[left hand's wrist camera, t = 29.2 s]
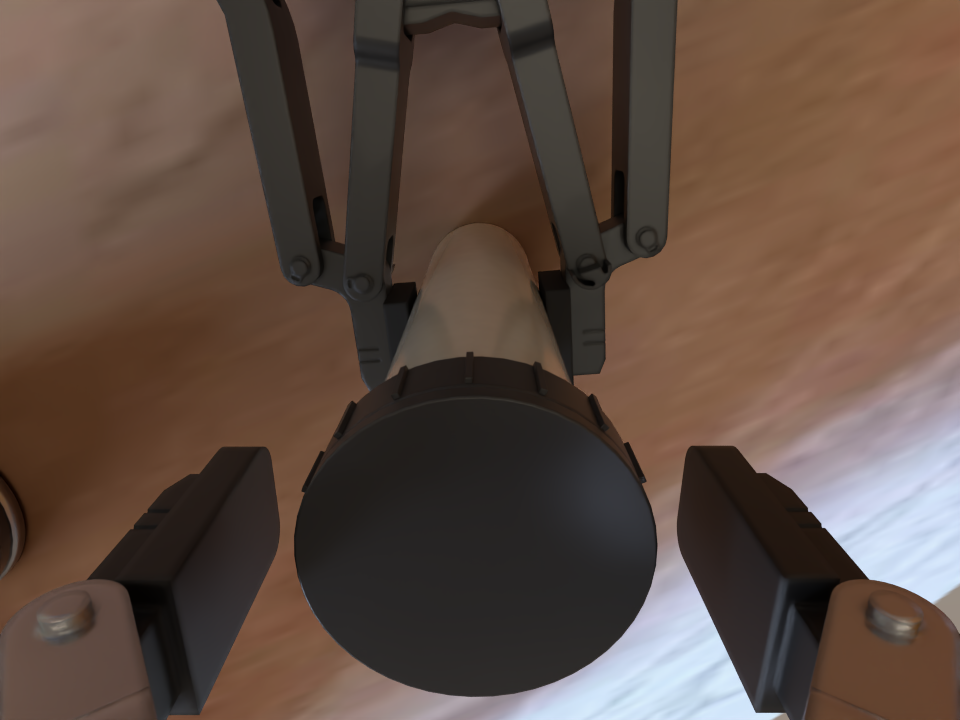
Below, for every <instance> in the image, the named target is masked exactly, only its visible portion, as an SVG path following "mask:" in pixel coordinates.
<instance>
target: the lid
mask: <svg viewBox="0 0 960 720" xmlns="http://www.w3.org/2000/svg"><path fill="white" fill-rule="evenodd" d="M645 482H646V479H645V476H644V474H643V472H642V470H641V468H640V465H639V463H638V461H637V459H636V457H635V455H634V453H633V451H632V448H631V446H630V444H629V442H627V443H624V444H623V441H622V439H621V437H620V435H619V434H618V432H617V431H616V429H615V427H614V426H613V424H612V422H611V421H610V420H609V418H608V417H607V416H606V415H605V414H604V412H603V411H602V409H601V407H600V404H599V402H598V400H597V397H596V396H595V395H593V394H591V395H590V396H589V397H588V396H587V395H586V394H584V393H583V392H582V391H581V390H579V389H578V388H576V387H575V386H573V385H572V384H570V383H569V382H568V381H566V380H564V379H562V378H560V377H558V376H556V375H554V374H552V373H550V372H548V371H546V370H544V369H542V365H541V363H539V362H536V361H535V362H534V364H533V366H532V365H530V364H527V363H523V362H518V361H514V360H509V359H505V358H495V357H484V356H474V352H466V357H455V358H449V359H443V360H436V361H433V362H429V363H426V364H423V365H419V366H416V367H413V368H411V369H409V370H408V368H407V366H406V365H405V366H403V367H400V369H399V372H398V374H397V375H395V376H393V377H392V378H390V379H388V380H387V381H385V382H383V383H382V384H380V385H378V386H377V387H375V388H374V389H373V390H372V391H370V392H369V393H368V394H367V395H365V396H364V397H363V398H362V399H361V400H360V401H359V402H358V403H357V404H356V403H354V402H353V401H351V402H350V403H349V405H348V406H347V408H346V410H345V412H344V415H343V417H342V419H341V421H340V423H339V425H338V427H337V429H336V431H335V433H334V435H333V437H332V439H331V441H330V443H329V445H328V447H327V449H326V451H325V452H323V451H320V453H319V455H318V457H317V459H316V461H315V463H314V465H313V467H312V469H311V471H310V473H309V475H308V477H307V479H306V481H305V483H304V485H303V488H302V492H305V494H304V496H303V499H302V503H301V506H300V509H299V512H298V515H297V521H296V527H295V534H294V556H295V562H296V568H297V574H298V578H299V581H300V584H301V587H302V590H303V593H304V596H305V598H306V600H307V602H308V604H309V606H310V608H311V610H312V612H313V613H314V615H315V616H316V618H317V619H318V621H319V622H320V624H321V625H322V626H323V628H324V629H325V630H326V631H327V633H328V634H329V635H330V636H331V637H332V638H333V639H334V640H335V641H336V642H337V644H339V645H340V646H341V647H342V648H343V649H344V650H346V651H347V652H348V653H349V654H350V655H351V656H352V657H354V658H355V659H357V660H358V661H360V662H361V663H363V664H364V665H366V666H367V667H369V668H370V669H372V670H374V671H376V672H378V673H380V674H382V675H383V676H385V677H387V678H389V679H392V680H395V681H397V682H400V683H402V684H405V685H407V686H410V687H414V688H418V689H421V690H425V691H428V692H434V693H440V694H445V695H453V696H466V697H485V696H499V695H507V694H515V693H519V692H523V691H528V690H532V689H536V688H539V687H542V686H545V685H548V684H551V683H554V682H556V681H558V680H561V679H563V678H565V677H567V676H569V675H571V674H574V673H575V672H577V671H579V670H580V669H582V668H584V667H585V666H587V665H589V664H590V663H592V662H593V661H594V660H596V659H597V658H598V657H600V656H601V655H602V654H603V653H605V652H606V651H607V650H608V649H609V648H610V647H611V646H612V645H613V644H614V643H615V642H616V641H618V640H619V639H620V638H621V637H622V635H623V634H624V633H625V631H626V630H627V629H628V628H629V626H630V625H631V624H632V623H633V621H634V620H635V618H636V616H637V615H638V613H639V611H640V609H641V608H642V606H643V604H644V602H645V600H646V597H647V595H648V592H649V590H650V587H651V584H652V580H653V576H654V571H655V567H656V558H657V534H656V525H655V520H654V516H653V512H652V508H651V505H650V503H649V500H648V498H647V495H646V493H645V491H644V488H643V486H642V483H645Z"/></svg>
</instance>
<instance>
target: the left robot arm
mask: <svg viewBox="0 0 960 720" xmlns="http://www.w3.org/2000/svg"><path fill="white" fill-rule="evenodd" d="M279 535H280V520H279V512H278V505H277V497H276V490H275V482H274V475H273V468H272V460H271V456H270V453H269V450H268V449H267V448H266V447H222V448H220V449H219V450H218V452H217V453H216V454H215V455H214V457H213V458H212V459H211V460H210V462H209V463H208V464H207V465H206V466H205V468H204V469H203V470H202V471H201V473H200V474H190V475H188V476H186V477H185V478H183V479H182V480H180V481H178V482H177V483H175V484H174V485H172V486H170V487H169V488H167V489H166V490H164V491H163V492H162V494H161V495H160V496H159V497H158V498H157V499H156V500H155V502H154V503H153V504H152V505H151V506H150V507H149V509H148V513H144V514H143V515H142V517H141V518H140V519H139V520H138V521H137V522H136V524H135V525H134V529H130V530H129V532H128V533H127V534H126V535H125V536H124V537H123V539H122V540H121V541H120V542H119V543H118V544H117V545H116V547H115V548H114V549H113V550H112V551H111V552H110V554H109V555H108V556H107V557H106V558H105V559H104V560H103V562H102V563H101V564H100V565H99V566H98V567H97V569H96V570H95V571H94V572H93V573H92V574H91V575H90V577H89V578H88V579H87V580H85V581H80V582H75V583H71V584H68V585H64V586H62V587H59V588H56V589H54V590H52V591H49V592H47V593H45V594H43V595H41V596H40V597H38V598H36V599H34V600H33V601H31V602H30V603H28V604H27V605H25V606H24V607H23V608H21V609H20V610H19V611H18V612H17V613H16V614H15V615H14V616H13V617H12V618H11V619H10V620H9V621H8V623H7V624H6V625H5V627H4V628H3V631H2V633H1V634H0V720H166V719H167V717H168V715H200V713H201V710H202V708H203V706H204V704H205V702H206V700H207V698H208V696H209V694H210V692H211V689H212V687H213V685H214V683H215V681H216V679H217V677H218V675H219V673H220V671H221V668H222V666H223V664H224V662H225V660H226V658H227V656H228V654H229V652H230V650H231V647H232V645H233V643H234V641H235V639H236V637H237V635H238V633H239V631H240V629H241V626H242V624H243V622H244V620H245V618H246V616H247V614H248V612H249V610H250V608H251V606H252V603H253V601H254V599H255V597H256V595H257V593H258V591H259V589H260V587H261V585H262V582H263V580H264V578H265V576H266V574H267V572H268V570H269V568H270V566H271V564H272V561H273V559H274V557H275V555H276V552H277V548H278V543H279ZM677 536H678V543H679V548H680V551H681V554H682V557H683V559H684V561H685V563H686V565H687V567H688V569H689V572H690V574H691V576H692V578H693V580H694V582H695V584H696V586H697V589H698V591H699V593H700V595H701V597H702V599H703V601H704V603H705V606H706V608H707V610H708V612H709V614H710V616H711V618H712V620H713V623H714V625H715V627H716V629H717V631H718V633H719V635H720V638H721V640H722V642H723V644H724V646H725V648H726V650H727V652H728V655H729V657H730V659H731V661H732V663H733V665H734V667H735V669H736V672H737V674H738V676H739V678H740V680H741V682H742V684H743V686H744V689H745V691H746V693H747V695H748V697H749V699H750V701H751V703H752V706H753V708H754V710H755V712H756V713H787V715H788V717H789V719H790V720H960V634H959V633H958V631H957V628H956V627H955V625H954V624H953V623H952V621H951V620H950V619H949V618H948V617H947V616H946V615H945V614H944V613H943V612H942V611H941V610H940V609H939V608H937V607H936V606H935V605H933V604H932V603H930V602H929V601H927V600H926V599H924V598H922V597H920V596H919V595H917V594H915V593H913V592H911V591H908V590H906V589H904V588H901V587H898V586H896V585H892V584H889V583H885V582H880V581H875V580H869V579H868V578H867V576H866V575H865V574H864V573H863V572H862V571H861V569H860V568H859V567H858V566H857V565H856V564H855V562H854V561H853V560H852V559H851V558H850V557H849V555H848V554H847V553H846V552H845V551H844V550H843V548H842V547H841V546H840V545H839V544H838V543H837V541H836V540H835V539H834V538H833V537H832V536H831V534H830V533H829V532H828V531H827V530H826V529H825V528H822V526H821V523H820V522H819V520H818V519H817V518H816V517H815V516H814V515H813V513H812V512H808V508H807V506H806V505H805V504H804V503H803V502H802V501H801V499H800V498H799V497H798V496H797V495H796V494H795V492H794V491H793V490H792V489H791V488H789V487H787V486H786V485H784V484H783V483H781V482H779V481H778V480H776V479H775V478H773V477H771V476H770V475H768V474H767V473H756V472H755V470H754V469H753V468H752V467H751V465H750V464H749V463H748V462H747V460H746V459H745V458H744V457H743V455H742V454H741V453H740V452H739V450H738V449H737V448H736V447H734V446H691V447H689V449H688V451H687V453H686V457H685V464H684V472H683V479H682V487H681V494H680V502H679V509H678V517H677ZM24 543H25V524H24V518H23V515H22V511H21V509H20V506H19V504H18V502H17V500H16V498H15V496H14V494H13V493H12V491H11V490H10V488H9V487H8V485H7V484H6V483H5V481H4V480H3V479H2V478H1V477H0V580H1V579H2V578H3V577H4V576H5V575H6V574H7V573H8V572H9V571H10V570H11V569H12V568H13V567H14V566H15V564H16V563H17V561H18V560H19V558H20V556H21V553H22V551H23V548H24Z"/></svg>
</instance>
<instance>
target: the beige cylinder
mask: <svg viewBox="0 0 960 720" xmlns="http://www.w3.org/2000/svg"><path fill="white" fill-rule="evenodd" d="M466 352H474V356H484V357H495V358H505V359H509V360H514V361H518V362H523V363H527V364H530V365H532V366H533V364H534V362H535V361H536V362H539V363H541V365H542V369H544V370H546V371H548V372H550V373H552V374H554V375H556V376H558V377H560V378H562V379H564V380H566V381H568V382H569V383H570V384H571V382H570V379H569V376H568V373H567V370H566V367H565V365H564V362H563V359H562V356H561V353H560V350H559V347H558V345H557V342H556V339H555V336H554V333H553V330H552V327H551V325H550V322H549V319H548V316H547V313H546V310H545V307H544V305H543V302H542V299H541V296H540V293H539V290H538V287H537V285H536V282H535V279H534V276H533V273H532V270H531V267H530V265H529V262H528V259H527V256H526V253H525V251H524V249H523V247H522V246H521V244H520V243H519V242H518V240H517V239H516V238H515V237H514V236H513V235H511V234H510V233H509V232H507V231H506V230H504V229H502V228H500V227H498V226H495V225H492V224H486V223H473V224H468V225H464V226H461V227H459V228H457V229H455V230H453V231H452V232H450V233H449V234H448V235H447V236H446V237H444V238H443V240H442V241H441V242H440V243H439V245H438V246H437V248H436V250H435V252H434V254H433V256H432V259H431V262H430V264H429V267H428V270H427V272H426V275H425V277H424V280H423V283H422V285H421V288H420V290H419V293H418V296H417V298H416V301H415V303H414V306H413V309H412V311H411V314H410V317H409V319H408V322H407V324H406V327H405V330H404V332H403V335H402V337H401V340H400V343H399V345H398V348H397V350H396V353H395V356H394V358H393V361H392V363H391V366H390V369H389V371H388V374H387V377H386V379H385V381H387V380H388V379H390V378H392V377H393V376H395V375H397V374H398V372H399V369H400V367H403V366H405V365H406V366H407V368H408V370H409V369H411V368H413V367H416V366H419V365H423V364H426V363H429V362H433V361H436V360H443V359H449V358H455V357H466Z"/></svg>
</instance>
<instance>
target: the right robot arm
mask: <svg viewBox="0 0 960 720" xmlns="http://www.w3.org/2000/svg"><path fill="white" fill-rule="evenodd" d="M217 2H218V4H219V5H220V7H221V9H222V11H223V13H224V14H225V18H226V22H227V27H228V31H229V36H230V41H231V45H232V50H233V54H234V59H235V63H236V68H237V72H238V77H239V81H240V86H241V90H242V95H243V100H244V104H245V109H246V113H247V118H248V122H249V127H250V131H251V136H252V140H253V145H254V149H255V154H256V159H257V163H258V168H259V172H260V177H261V181H262V186H263V190H264V195H265V199H266V204H267V208H268V213H269V218H270V222H271V227H272V231H273V236H274V240H275V245H276V249H277V254H278V258H279V263H280V267H281V271H282V273H283V275H284V277H285V278H286V279H287V280H288V281H289V282H290V283H292V284H294V285H296V286H308V285H315V286H318V287H322V288H326V289H330V290H333V291H335V292H337V293H339V294H340V295H342V296H343V297H344V298H345V299H346V301H347V303H348V304H349V307H350V310H351V315H352V321H353V327H354V334H355V340H356V346H357V350H358V358H359V364H360V371H361V377H362V380H363V381H364V383H365V384H366V386H367V388H368V389H369V391H372V390H373V389H374V388H375V387H377V386H378V385H380V384H382V383H383V382H385V379H386V377H387V374H388V371H389V369H390V366H391V363H392V361H393V358H394V356H395V353H396V350H397V348H398V345H399V343H400V340H401V337H402V335H403V332H404V330H405V327H406V324H407V322H408V319H409V317H410V314H411V311H412V309H413V306H414V303H415V301H416V298H417V290H416V282H407V283H395V284H394V285H393V286H392V279H391V274H392V272H393V270H394V267H395V264H393V256H394V245H395V233H396V222H397V210H398V199H399V187H400V176H401V165H402V153H403V142H404V130H405V119H406V107H407V96H408V84H409V75H410V70H411V66H412V59H413V48H414V37H415V34H426V33H430V32H433V31H435V30H438V29H440V28H443V27H445V26H448V25H450V24H453V23H458V24H463V25H468V26H473V27H478V28H489V27H497V30H498V34H499V38H500V41H501V45H502V49H503V52H504V55H505V58H506V61H507V64H508V67H509V71H510V75H511V78H512V82H513V86H514V90H515V93H516V97H517V101H518V104H519V108H520V112H521V116H522V119H523V123H524V127H525V131H526V134H527V138H528V142H529V145H530V149H531V153H532V157H533V160H534V164H535V168H536V172H537V175H538V179H539V183H540V187H541V190H542V194H543V198H544V201H545V205H546V209H547V213H548V216H549V220H550V224H551V228H552V231H553V235H554V239H555V242H556V246H557V250H558V254H559V256H560V266H561V271H560V270H554V271H541V272H538V278H539V293H540V296H541V299H542V302H543V305H544V307H545V310H546V313H547V316H548V319H549V322H550V325H551V327H552V330H553V333H554V336H555V339H556V342H557V345H558V347H559V350H560V353H561V356H562V359H563V362H564V365H565V367H566V370H567V373H568V376H569V379H570V382H571V384H572V385H573V386H574V381H573V376H574V375H587V374H600V371H601V369H602V366H603V364H604V362H605V284H606V282H607V281H608V280H609V278H610V276H611V273H612V272H613V271H614V270H615V269H616V268H618V267H620V266H621V265H624V264H626V263H628V262H630V261H633V260H635V259H637V258H640V257H642V258H649V257H653V256H655V255H656V254H658V253H659V252H661V250H662V249H663V247H664V246H665V244H666V240H667V229H668V206H669V183H670V160H671V137H672V114H673V91H674V68H675V45H676V22H677V0H614V20H613V104H612V188H611V218H610V219H608V220H606V221H604V222H602V223H599V224H598V221H597V216H596V212H595V208H594V204H593V200H592V196H591V192H590V187H589V183H588V179H587V175H586V171H585V167H584V163H583V158H582V154H581V150H580V146H579V142H578V138H577V134H576V129H575V125H574V121H573V117H572V113H571V109H570V105H569V100H568V96H567V92H566V88H565V84H564V80H563V76H562V71H561V67H560V63H559V59H558V55H557V51H556V46H555V41H554V30H553V24H552V19H551V15H550V10H549V6H548V2H547V0H356V1H355V18H354V39H353V43H354V53H355V82H354V99H353V116H352V133H351V150H350V167H349V183H348V200H347V217H346V234H345V244H341V243H338V242H335V237H334V231H333V226H332V221H331V215H330V210H329V205H328V199H327V194H326V188H325V183H324V178H323V172H322V167H321V162H320V156H319V151H318V145H317V140H316V135H315V129H314V124H313V119H312V113H311V108H310V102H309V97H308V92H307V86H306V81H305V76H304V70H303V65H302V59H301V54H300V49H299V43H298V39H297V35H296V31H295V26H294V23H293V20H292V17H291V14H290V11H289V9H288V6H287V4H286V2H285V0H217Z"/></svg>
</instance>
